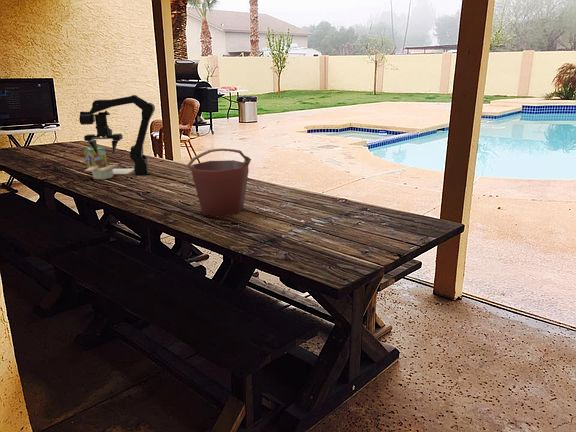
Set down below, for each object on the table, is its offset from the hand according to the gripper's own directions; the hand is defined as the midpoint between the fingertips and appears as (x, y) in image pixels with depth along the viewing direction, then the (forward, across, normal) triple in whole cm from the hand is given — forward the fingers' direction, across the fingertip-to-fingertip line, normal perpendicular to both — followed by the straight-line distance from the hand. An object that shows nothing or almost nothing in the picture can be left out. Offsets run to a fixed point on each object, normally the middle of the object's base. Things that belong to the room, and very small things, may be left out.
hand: (105, 153), depth 261 cm
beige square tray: (+7, +1, +5) cm, 9 cm away
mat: (+12, -2, -10) cm, 16 cm away
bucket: (+13, -71, +74) cm, 103 cm away
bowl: (+12, +1, +5) cm, 13 cm away
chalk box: (+12, +15, -25) cm, 32 cm away
